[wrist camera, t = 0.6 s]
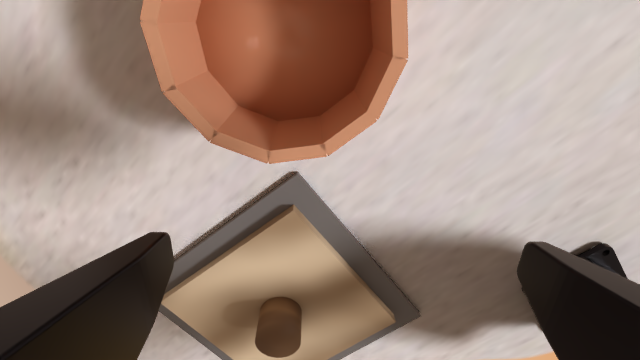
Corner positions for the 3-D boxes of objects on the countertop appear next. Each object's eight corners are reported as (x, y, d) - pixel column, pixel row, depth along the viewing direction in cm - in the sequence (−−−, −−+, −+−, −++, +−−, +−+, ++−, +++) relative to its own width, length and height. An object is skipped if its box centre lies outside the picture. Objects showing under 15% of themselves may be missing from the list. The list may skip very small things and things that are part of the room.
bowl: (416, 53, 19) (453, 65, 14) (275, 158, 21) (265, 201, 16) (302, -136, 16) (297, -210, 11) (149, 14, 18) (86, 12, 13)
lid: (393, 313, 26) (404, 351, 23) (272, 380, 29) (268, 421, 26) (293, 204, 22) (290, 233, 19) (164, 294, 25) (144, 331, 22)
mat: (419, 312, 27) (420, 316, 27) (271, 392, 30) (270, 396, 30) (297, 171, 22) (297, 174, 21) (136, 287, 25) (133, 291, 25)
